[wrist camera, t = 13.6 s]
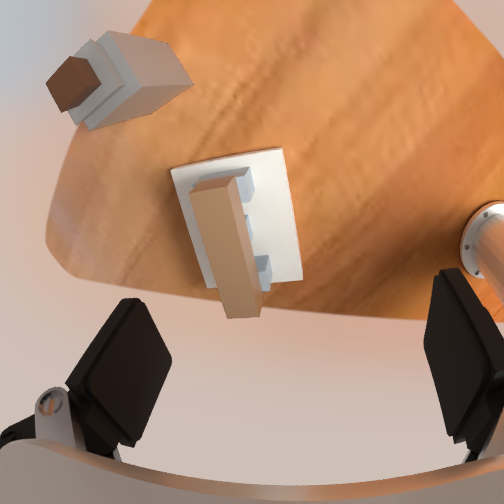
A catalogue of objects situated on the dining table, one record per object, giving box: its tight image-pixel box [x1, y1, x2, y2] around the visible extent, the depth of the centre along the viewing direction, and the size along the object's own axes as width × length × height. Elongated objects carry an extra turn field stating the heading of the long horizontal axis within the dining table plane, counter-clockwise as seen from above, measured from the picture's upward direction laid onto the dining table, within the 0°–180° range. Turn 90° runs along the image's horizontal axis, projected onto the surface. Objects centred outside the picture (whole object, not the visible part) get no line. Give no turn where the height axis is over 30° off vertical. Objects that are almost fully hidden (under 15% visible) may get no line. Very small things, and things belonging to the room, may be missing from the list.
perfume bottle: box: [46, 31, 194, 131], centre depth 26 cm, size 7×7×18 cm
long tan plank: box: [188, 175, 263, 319], centre depth 35 cm, size 4×16×4 cm, turn 12°
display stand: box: [170, 147, 303, 292], centre depth 39 cm, size 14×18×6 cm
